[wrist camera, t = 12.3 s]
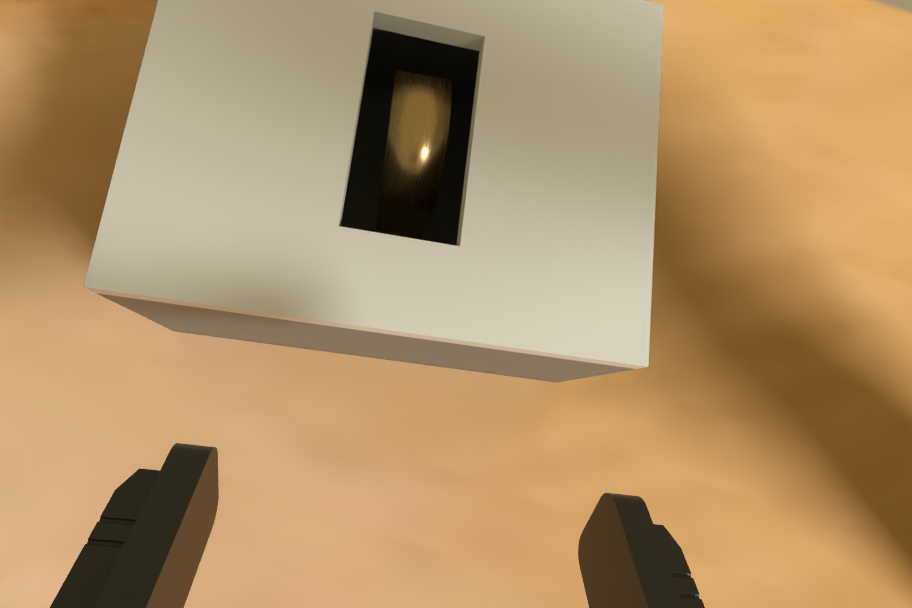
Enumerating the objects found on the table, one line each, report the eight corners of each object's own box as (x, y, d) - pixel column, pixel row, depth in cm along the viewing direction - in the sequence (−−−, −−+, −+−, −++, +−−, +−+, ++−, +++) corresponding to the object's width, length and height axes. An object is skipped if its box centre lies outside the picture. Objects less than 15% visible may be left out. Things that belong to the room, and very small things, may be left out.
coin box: (577, 119, 35) (663, 5, 25) (556, 382, 32) (648, 367, 22) (236, 48, 32) (187, -112, 22) (173, 331, 29) (83, 286, 19)
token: (429, 144, 32) (456, 50, 24) (418, 246, 31) (443, 184, 23) (386, 137, 32) (399, 39, 24) (374, 239, 31) (383, 175, 22)
